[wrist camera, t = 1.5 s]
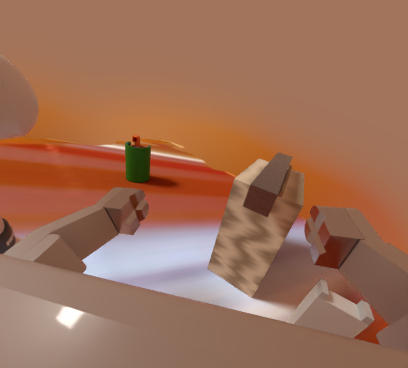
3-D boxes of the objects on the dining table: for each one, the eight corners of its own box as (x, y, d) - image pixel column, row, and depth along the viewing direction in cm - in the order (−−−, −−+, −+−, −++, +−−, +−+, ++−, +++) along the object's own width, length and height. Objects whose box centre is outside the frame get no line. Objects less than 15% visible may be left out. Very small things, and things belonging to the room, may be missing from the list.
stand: (207, 268, 43) (235, 173, 31) (234, 227, 59) (260, 155, 47) (252, 298, 38) (306, 200, 26) (268, 245, 55) (306, 169, 43)
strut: (242, 206, 23) (250, 184, 22) (272, 165, 44) (277, 152, 43) (267, 217, 22) (277, 195, 20) (286, 169, 43) (292, 156, 41)
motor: (150, 174, 83) (151, 134, 74) (148, 183, 75) (150, 139, 66) (127, 173, 80) (127, 130, 71) (123, 181, 72) (122, 135, 64)
